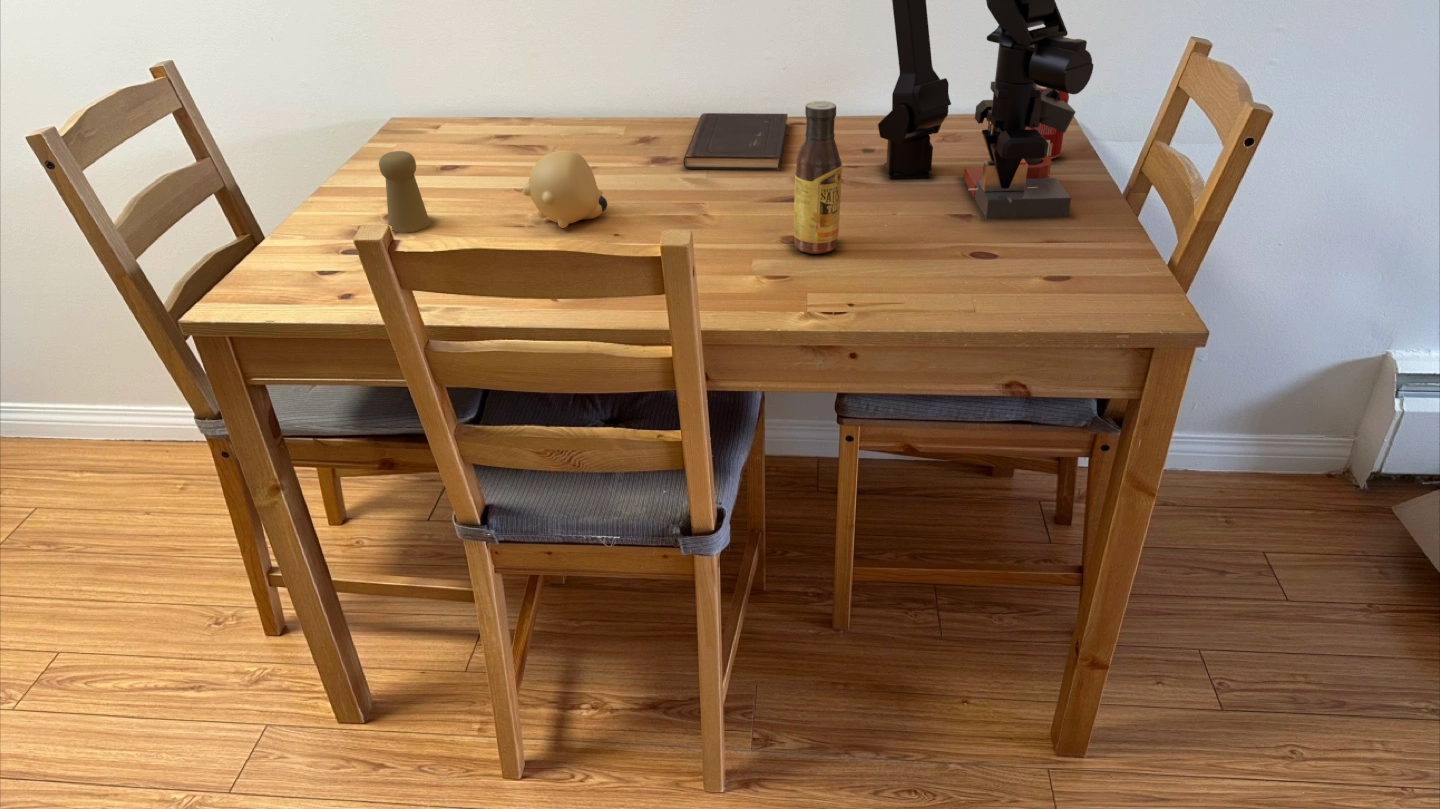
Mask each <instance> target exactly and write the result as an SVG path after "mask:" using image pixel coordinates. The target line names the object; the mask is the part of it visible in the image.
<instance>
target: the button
mask: <svg viewBox="0 0 1440 809" xmlns="http://www.w3.org/2000/svg"><path fill="white" fill-rule="evenodd" d="M1041 159H1042V158H1028V159H1024V160H1025V161H1026V162H1027V164H1028V165H1036V164H1040V163H1041Z"/></svg>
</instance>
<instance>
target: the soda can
mask: <svg viewBox="0 0 1440 809" xmlns="http://www.w3.org/2000/svg"><path fill="white" fill-rule="evenodd" d="M1037 87H1038V88H1039V89H1040V91H1041V92H1043V91H1044V90H1045V89H1046V87H1042V86H1039V85H1037ZM1058 92H1059V93H1060V101H1064V102H1065V103H1067V104H1069V99H1070V94H1069V93H1065V92H1061V91H1058ZM1034 129H1037V130H1038V132H1039V133H1040V134H1041V135H1042V136H1043V137H1044V138H1045V140H1046V141H1047V142H1048V143H1049V145H1048V152H1047V157H1049V158H1050V160H1051V161H1052V160H1054V159H1056V158H1058V157H1059V156H1060V155H1061V153H1062V146H1063V140H1064V134H1065V133H1063V132H1060V131H1058V130H1057V129H1055V128H1052V127H1050V126H1047V125H1044V124H1041V123H1039V126H1038V127H1036V128H1030V127H1026V129H1025V130H1034Z"/></svg>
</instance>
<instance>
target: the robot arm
mask: <svg viewBox="0 0 1440 809" xmlns="http://www.w3.org/2000/svg"><path fill="white" fill-rule="evenodd" d="M891 2H892V12H893V22H894V31H895V40H896V50H897V60H898V68H899V75H898V77H897V80H896V83H895V86H894V89H893V90H892V94H891V95H892V96H891V98H892V99H891V111H889V112H888V114H886V116H884V117H883V119H881V121H880V122H878V124H877V128H878V133H879V138H881V139H884V140H887V146H886V147H887V148H886V161H885V163H883V165H884V166H883V167H884V169H885V172H886V175H887V177H888V179H889V180H913V179H914V180H915V179H919V180H920V179H930V177H931V176H930V175H931V174H930V171H932V166H933V165H932V164H933V153H934V146H933V144H932V142H931V136H930V135H934V134H938V133H939V132H940V130H941V127H942V124H943V123H944V121H945V119H946V118H947V117H948V115H949V106H951V105H952V101H951V100H950V95H949V84H950V83H949V81H948V79H947V78H946V77H944V78H940V77H939V76H938V74H937V73H936V71H935V70H934V67H933V60H932V49H931V39H930V29H929V19H928V18H929V17H928V9H927V8H928V7H927V0H891ZM985 2H986V7H987V9H988V10H989V12H990V13H991V15H992V16H993V18H994V20H995V21H996V23H997V24H998V26H997V27H996V28H995V30H994V31H992V32H991V33H989V34H988V35H986V41H987V42H990V43H994V44H995V43H996V44H998V50H997V57H996V58H997V59H996V68H995V77H994V81H990V90H991V91H992V93H993V94H992V99H982V100H981V101H980V102H979V103H978V104H977V105H976V106H975V111H974V112H975V113H974V119H975V121H976V122H977V124H983V123H984V122H985V119H986V121H987V128H986V129H985V128H984V129H982V130H981V134H982V136H983V140H984V142H985V146H986V149H987V152H988V155H989V159H990V161H995V165H996V169H997V173H998V178H999V181H1000V185H1001V188H1002V189H1007V188H1009V187H1010V185H1011V182H1012V180H1013V178H1014V175H1015V173H1016V171H1017V169H1018V166H1019V164H1020V162H1021V160H1022V159H1028V158H1045V157H1047V152H1048V145H1049V143H1048V142H1047V141H1046V140H1045V138H1044V137H1043V136H1042V135H1041V134H1040V133H1039V132H1038V130H1037V129H1034V130H1025V129H1026V127H1030V128H1036V127H1038V126H1039V123H1041V124H1044V125H1047V126H1050V127H1052V128H1055V129H1057V130H1058V131H1060V132H1063V133H1064V134H1065V133H1066V132H1067V130H1068V128H1069V126H1070V124H1071V122H1072V121H1073V118H1074V116H1075V115H1076V110H1075V109H1074V108H1073V107H1072V106H1071V105H1070V104H1069V103H1068V104H1067V103H1065V102H1064V101H1060V93H1059V92H1058V91H1061V92H1065V93H1068V94H1069V95H1078V94H1079V93H1081V92H1082V91H1083V90H1084V89H1085V88H1086V86H1087V85H1088V84H1089V82H1090V81H1091V77H1092V75H1093V72H1094V71H1093V70H1094V63H1093V58H1092V54H1091V53H1090V51H1088V50H1087V44H1088V42H1087V40H1086V39H1082V38H1070V37H1067V36H1068V30H1067V27H1066V25H1065V22H1064V20H1063V17H1062V14H1061V12H1060V10H1059V8H1058V5H1057V2H1056V0H985ZM1042 25H1043V26H1042ZM1037 26H1042V27H1039V28H1034V27H1037ZM1031 28H1034V29H1031ZM1029 29H1030V30H1029ZM1037 85H1039V86H1042V87H1046V89H1045V90H1044V91H1043V92H1041V91H1040V89H1039V88H1038V87H1037Z"/></svg>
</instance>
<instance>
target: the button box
mask: <svg viewBox="0 0 1440 809" xmlns="http://www.w3.org/2000/svg"><path fill="white" fill-rule="evenodd" d="M1052 162H1053V161H1052V159H1051V160H1050V158H1049V157H1045V158H1042V159H1041V163H1040V164H1036V165H1028V168H1027V176H1026V179H1042V178H1051V177H1050V176H1049V175H1050V174H1051V169H1052ZM982 174H983V166H964V170H963V178H962V179H963V180H964V182H965V184H966V186H967V187H968V188H967V189H976V182H977V180H982ZM975 191H976V190H972V191H970V193H971V195H972V197H973V198H975Z"/></svg>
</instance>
